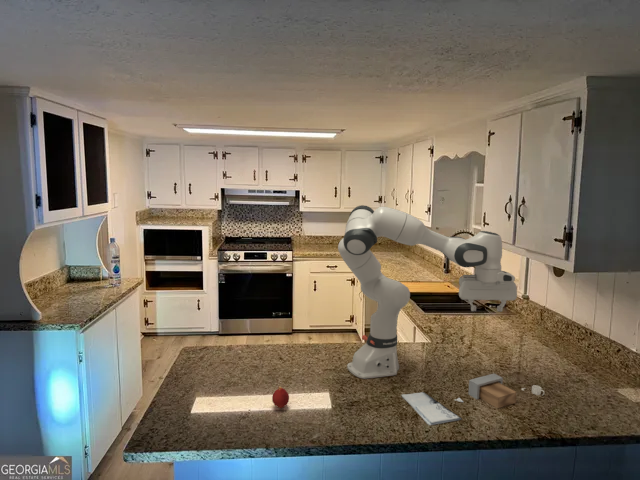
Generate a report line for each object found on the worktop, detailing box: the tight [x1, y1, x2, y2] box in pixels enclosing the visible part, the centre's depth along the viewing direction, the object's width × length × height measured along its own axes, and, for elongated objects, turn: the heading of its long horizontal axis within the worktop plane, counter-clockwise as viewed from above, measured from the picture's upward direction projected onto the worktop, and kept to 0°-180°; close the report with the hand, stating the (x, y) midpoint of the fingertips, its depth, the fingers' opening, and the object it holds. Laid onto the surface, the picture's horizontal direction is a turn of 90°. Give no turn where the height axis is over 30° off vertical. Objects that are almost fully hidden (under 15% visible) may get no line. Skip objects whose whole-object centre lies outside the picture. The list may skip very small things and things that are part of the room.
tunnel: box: [468, 373, 504, 400], centre depth 152 cm, size 12×4×6 cm, turn 115°
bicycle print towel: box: [401, 391, 464, 426], centre depth 146 cm, size 19×20×2 cm
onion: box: [271, 386, 290, 410], centre depth 144 cm, size 6×6×8 cm
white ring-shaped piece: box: [521, 384, 545, 396], centre depth 153 cm, size 9×8×4 cm
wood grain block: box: [479, 382, 518, 409], centre depth 148 cm, size 9×12×4 cm
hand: (486, 310), depth 154 cm, fingers open, 8 cm apart
